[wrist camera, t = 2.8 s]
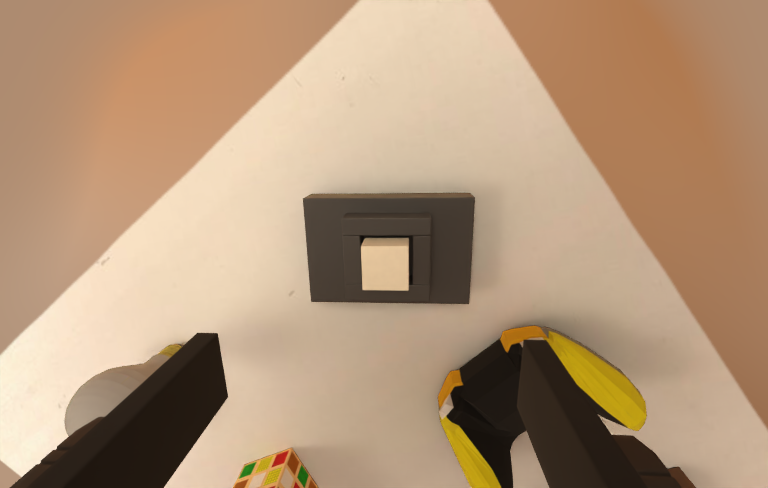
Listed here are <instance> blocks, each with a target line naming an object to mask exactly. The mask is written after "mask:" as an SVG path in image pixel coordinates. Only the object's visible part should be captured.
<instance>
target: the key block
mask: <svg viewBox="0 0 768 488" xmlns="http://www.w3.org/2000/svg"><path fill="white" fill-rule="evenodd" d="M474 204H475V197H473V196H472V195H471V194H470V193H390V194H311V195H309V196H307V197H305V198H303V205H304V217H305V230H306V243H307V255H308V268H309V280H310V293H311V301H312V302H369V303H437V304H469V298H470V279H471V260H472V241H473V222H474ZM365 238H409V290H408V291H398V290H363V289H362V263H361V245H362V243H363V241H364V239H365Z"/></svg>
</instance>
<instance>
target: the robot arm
mask: <svg viewBox="0 0 768 488" xmlns="http://www.w3.org/2000/svg"><path fill="white" fill-rule="evenodd" d="M227 398H228V393H227V387H226V381H225V375H224V369H223V363H222V357H221V351H220V345H219V339H218V333H197V334H196V335H195V336H194V337H193V338H191V339H190V340H189V341H188V342H187V343H186V344H185V345H184V346H183V347H182V348H180V349H179V350H178V351H177V352H176V353H175V354H174V355H173V356H172V357H170V358H169V359H168V360H167V361H166V362H165V363H164V364H163V365H162V366H160V367H159V368H158V369H157V370H156V371H155V372H154V373H153V374H152V375H151V376H149V377H148V378H147V379H146V380H145V381H144V382H143V383H142V384H141V385H139V386H138V387H137V388H136V389H135V390H134V391H133V392H132V393H131V394H130V395H128V396H127V397H126V398H125V399H124V400H123V401H122V402H121V403H120V404H118V405H117V406H116V407H115V408H114V409H113V410H112V411H111V412H110V413H109V414H107V415H106V416H105V417H97V418H96V419H94V420H92V421H91V422H89V423H87V424H86V425H84V426H82V427H81V428H79V429H77V430H76V431H75V432H74V433H72V434H71V435H70V436H69V437H68V438H67V439H66V440H64V441H63V442H62V443H61V444H60V445H59V446H57V449H56V450H53V451H52V452H51V453H49V454H48V455H47V456H46V457H45V458H44V459H42V460H41V463H40V464H37V465H36V466H34V467H33V468H32V469H31V470H30V471H29V472H27V473H26V474H25V475H24V476H23V477H22V478H21V479H19V480H18V481H17V482H16V483H15V484H14V485H13V486H12V487H10V488H164V486H165V485H166V484H167V482H168V481H169V479H170V478H171V476H172V475H173V474H174V472H175V471H176V469H177V468H178V467H179V465H180V464H181V462H182V461H183V460H184V458H185V457H186V455H187V454H188V453H189V451H190V450H191V448H192V447H193V446H194V444H195V443H196V441H197V440H198V438H199V437H200V436H201V434H202V433H203V431H204V430H205V429H206V427H207V426H208V424H209V423H210V422H211V420H212V419H213V417H214V416H215V415H216V413H217V412H218V410H219V409H220V408H221V406H222V405H223V403H224V402H225V400H226V399H227ZM517 408H518V411H519V413H520V416H521V418H522V421H523V423H524V426H525V428H526V430H527V433H528V435H529V438H530V440H531V443H532V445H533V448H534V450H535V453H536V455H537V458H538V460H539V463H540V465H541V468H542V470H543V473H544V475H545V478H546V480H547V483H548V485H549V488H682V487H681V486H680V484H679V483H678V482H677V481H676V479H675V478H674V477H671V473H670V472H669V470H668V469H667V468H666V467H665V465H664V464H663V463H662V461H661V460H660V459H659V458H658V456H657V455H656V454H655V453H654V452H653V451H652V450H650V449H649V448H648V447H647V446H645V445H644V444H643V443H642V442H640V441H639V440H638V439H637V438H635V437H634V436H626V435H611V433H610V432H609V431H608V429H607V428H606V426H605V425H604V423H603V422H602V420H601V419H600V417H599V416H598V414H597V413H596V412H595V410H594V409H593V407H592V406H591V404H590V403H589V401H588V400H587V398H586V397H585V395H584V394H583V393H582V391H581V390H580V388H579V387H578V385H577V384H576V382H575V381H574V379H573V378H572V377H571V375H570V374H569V372H568V371H567V369H566V368H565V366H564V365H563V363H562V362H561V360H560V359H559V358H558V356H557V355H556V353H555V352H554V350H553V349H552V347H551V346H550V344H549V343H548V342H547V340H523V350H522V360H521V370H520V380H519V390H518V400H517Z"/></svg>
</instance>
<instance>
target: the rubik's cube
mask: <svg viewBox="0 0 768 488" xmlns="http://www.w3.org/2000/svg"><path fill="white" fill-rule="evenodd" d="M233 488H318V487H317V485H316V484H315V482H314V481H313V479H312V478H311V476H310V475H309V473H308V472H307V470H306V469H305V467H304V466H303V464H302V463H301V461H300V460H299V458H298V457H297V455H296V454H295V452H294V451H293V449H292V448H290V449H287V450H284V451H281V452H279V453H276V454H273V455H270V456H267V457H265V458H262V459H259V460H256V461H254V462H251V463H248V464H245V465H244V467H243V469H242V471H241V473H240V475H239V477H238V479H237V481H236V483H235V485H234V487H233Z"/></svg>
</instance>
